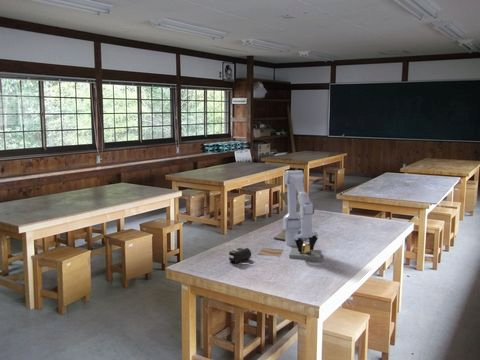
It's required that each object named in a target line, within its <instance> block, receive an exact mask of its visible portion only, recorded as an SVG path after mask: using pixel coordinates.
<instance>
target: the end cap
mask: <svg viewBox="0 0 480 360" xmlns="http://www.w3.org/2000/svg"><path fill="white" fill-rule="evenodd" d="M228 255H229V257H228V260H229V264H232V265H238V264H241V263H243V262H245V261H248V260H249V259H251V258H252V252H251V250H250V248H248V247H245V248H241V247H239V248H238V247H237V248H236V250H235V249H232V250H230V251H229V252H228ZM230 256H232V257H230Z"/></svg>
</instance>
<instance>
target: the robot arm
mask: <svg viewBox="0 0 480 360" xmlns="http://www.w3.org/2000/svg"><path fill="white" fill-rule="evenodd" d="M283 175H284V176H283V177H284V179H283V180H284V185H286V189H287V190H286V191H287V194H286V196H287V199H288V206H287V213H286V214H285V215H284V216H283V218H282V219H283V220H282V228H283V230H286V237H285V241H284V243H285V245H286V246H289V247H297V248H298V252H300V253H301V252H302V246H303V243H304V240H303V239H308V244H310V250H314V247H315V244H316V243H317V241H318V240H319V238H318V237H319V236H318V235H319V233H318V232H317V231H312V230H313V215H314V214H315V206H314V204H313V203H312V202H311V200H310V197H309V194H308V192H305V187H304V178H305V174H304V171H303V170H302V169H301V170H297V169H296V170H285V172H284V174H283ZM297 194H298V195H297ZM297 201H298V203H299V213H300V214H298V213H297ZM299 230H301V234H298V231H299Z"/></svg>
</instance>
